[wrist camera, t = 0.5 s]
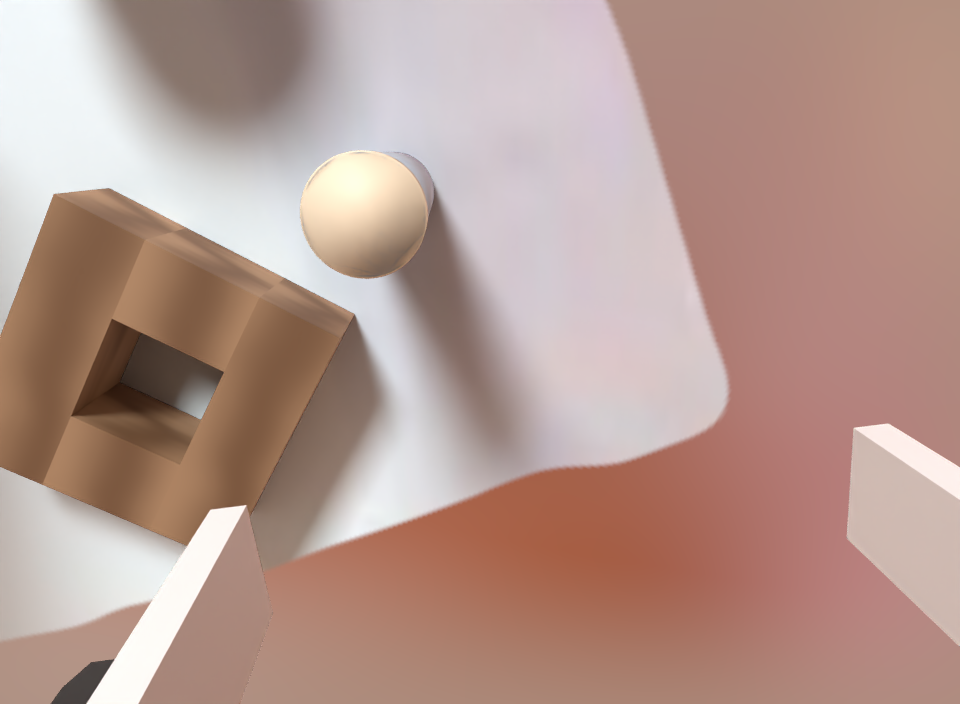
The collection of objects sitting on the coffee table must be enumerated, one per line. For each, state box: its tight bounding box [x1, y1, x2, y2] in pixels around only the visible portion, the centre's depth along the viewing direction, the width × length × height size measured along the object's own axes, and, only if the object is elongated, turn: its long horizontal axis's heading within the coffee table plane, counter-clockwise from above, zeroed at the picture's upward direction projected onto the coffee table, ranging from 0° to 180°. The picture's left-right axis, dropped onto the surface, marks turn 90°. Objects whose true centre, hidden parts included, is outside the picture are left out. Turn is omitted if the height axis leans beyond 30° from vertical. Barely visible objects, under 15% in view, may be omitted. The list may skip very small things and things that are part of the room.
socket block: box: [0, 188, 354, 546], centre depth 35 cm, size 14×14×5 cm
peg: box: [300, 150, 434, 279], centre depth 28 cm, size 4×4×14 cm
